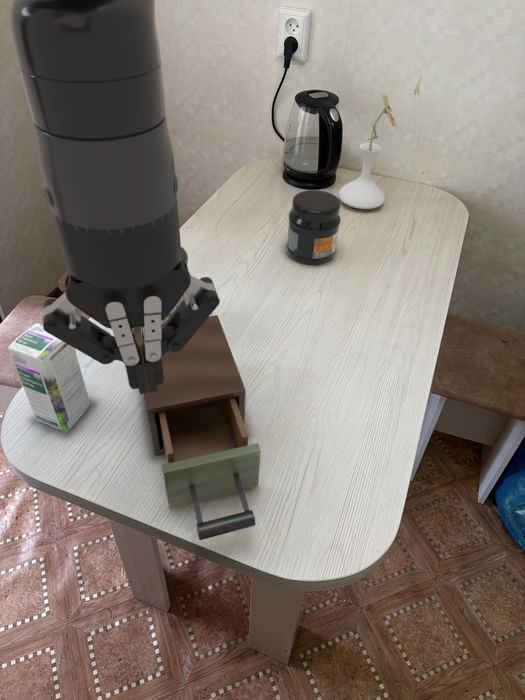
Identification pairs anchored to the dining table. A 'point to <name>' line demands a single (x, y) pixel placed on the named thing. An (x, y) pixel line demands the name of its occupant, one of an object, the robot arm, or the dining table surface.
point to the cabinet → (194, 376)
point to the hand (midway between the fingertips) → (146, 385)
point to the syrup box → (50, 377)
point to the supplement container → (313, 226)
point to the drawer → (209, 460)
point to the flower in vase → (367, 173)
